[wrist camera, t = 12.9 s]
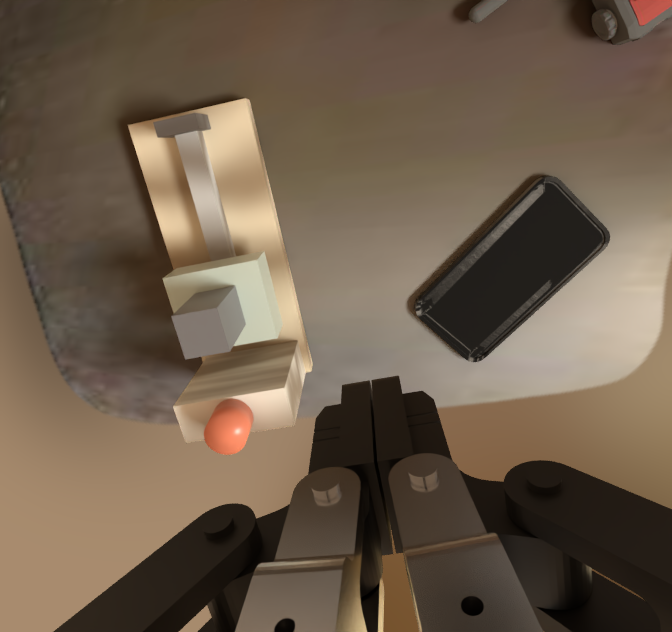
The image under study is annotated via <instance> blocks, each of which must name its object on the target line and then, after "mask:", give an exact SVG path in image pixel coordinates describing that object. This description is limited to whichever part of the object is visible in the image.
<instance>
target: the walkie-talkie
mask: <svg viewBox="0 0 672 632" xmlns="http://www.w3.org/2000/svg"><path fill="white" fill-rule="evenodd" d="M506 1H508V0H482V1H480V2H479V3H478V4H477V5H475V6H474V7H473V8H471V10H470V12H469V19H470V20H471V22H473V23H478V22H480V21H481V20H483V19H484V18H485V17H487V16H488V15H489V14H490V13H492V12H493V11H494V10H496V9H497V8H498V7H500V6H501V5H502V4H504V3H505V2H506ZM592 2H593V4H594V6H595V8H596V10H597V11H596V12H594V13H593V15H592V26H593V29H594V31H595V33H596V34H597V35H598V36H599V37H600V38H601V39H602V40H609V39H611V41H612V43H613V45H621V44H624V43H627V42H629V41H635V40H638V39H640V38H641V37H643V36H644V35H646V34H647V33H649V32H650V31H652V29H653V27H655V26H656V25H658V24H659V23H661V22H662V21H663V20H666V19H668V18H670V17H672V0H592Z"/></svg>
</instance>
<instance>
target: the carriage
mask: <svg viewBox="0 0 672 632" xmlns="http://www.w3.org/2000/svg"><path fill="white" fill-rule="evenodd" d="M162 279H163V282H164V285H165V288H166V291H167V294H168V298H169V301H170V304H171V307H172V310H173V313H174V314H173V315H172V316H171V317H172V320H173V324H174V327H175V330H176V333H177V336H178V339H179V342H180V345H181V348H182V351H183V354H184V357H185V360H186V359H191V358H197V357H203V356H208V355H214V354H219V353H225V352H230V351H231V349H232V347H233V346H238V345H243V344H249V343H254V342H260V341H266V340H271V339H277V338H278V336H279V333H280V330H281V328H282V325H283V323H282V319H281V315H280V311H279V307H278V303H277V299H276V295H275V291H274V287H273V283H272V279H271V275H270V271H269V267H268V263H267V259H266V256H265V252H264V251H262V252H256V253H251V254H246V255H241V256H236V257H231V258H226V259H221V260H216V261H211V262H206V263H201V264H196V265H190V266H185V267H180V268H176V269H175V270H173V271H172V272H171V273H169V274H168V275H166V276H165V277H164V278H162Z"/></svg>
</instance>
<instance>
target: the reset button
mask: <svg viewBox="0 0 672 632" xmlns="http://www.w3.org/2000/svg"><path fill="white" fill-rule="evenodd" d="M253 420H254V417H253V413H252V410H251V409H250V407H249V406H248V405H247V404H245V403H244V402H242V401H240V400H236V399H228V400H224V401H222V402H220V403H219V404H218V405H217V406H216V408H215V410H214V412H213V414H212V415H211V417H210V419H209V421H208V423H207V425H206V427H205V429H204V439H205V441H206V443H207V445H208V446H209V447H210V448H211V449H212V450H214V451H215V452H217V453H220V454H225V455H226V454H227V455H229V454H234V453H237V452H239V451H240V450H241V449H242V448H243V447H244V445H245V443H246V440H247V438H248V435H249V432H250V430H251V427H252V424H253Z"/></svg>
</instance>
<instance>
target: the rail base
mask: <svg viewBox="0 0 672 632" xmlns="http://www.w3.org/2000/svg"><path fill="white" fill-rule="evenodd" d="M128 128H129V131H130V134H131V137H132V140H133V143H134V147H135V150H136V153H137V156H138V159H139V162H140V165H141V169H142V172H143V175H144V178H145V181H146V184H147V188H148V191H149V194H150V197H151V200H152V203H153V207H154V210H155V213H156V216H157V219H158V222H159V225H160V229H161V232H162V235H163V238H164V241H165V244H166V248H167V251H168V254H169V257H170V260H171V263H172V267H173V270H175V269H176V268H180V267H185V266H190V265H196V264H201V263H206V262H211V261H216V260H221V259H226V258H231V257H236V256H241V255H246V254H251V253H256V252H262V251H264V252H265V256H266V259H267V263H268V267H269V271H270V275H271V279H272V283H273V287H274V291H275V295H276V299H277V303H278V307H279V311H280V315H281V319H282V323H283V325H282V328H281V330H280V333H279V336H278V338H277V339H271V340H266V341H260V342H254V343H249V344H243V345H238V346H233V347H232V349H231V351H230V352H225V353H219V354H214V355H208V356H203V357H201V358H202V361H203V363H202V365H201V366H200V368H199V369H198V371H197V372H196V374H195V375H194V377H193V378H192V379H191V381H190V382H189V384H188V385H187V387H186V388H185V390H184V391H183V393H182V394H181V396H180V397H179V399H178V400H177V402H176V403H175V405H174V406H173V408H174V411H175V413H176V416H177V419H178V422H179V425H180V428H181V430H182V433H183V436H184V439H185V442H186V443H189V442H196V441H202V440H205V439H204V429H205V427H206V425H207V423H208V421H209V419H210V417H211V415H212V414H213V412H214V410H215V408H216V406H217V405H218V404H219V403H220V402H222V401H224V400H228V399H236V400H240V401H242V402H244V403H245V404H247V405H248V406H249V407H250V409H251V410H252V413H253V417H254V420H253V424H252V427H251V430H250V432H249V433H252V432H258V431H264V430H270V429H276V428H283V427H289V426H294V425H295V421H296V416H297V411H298V407H299V402H300V397H301V392H302V388H303V383H304V378H305V373H306V372H311V371H312V365H313V363H312V359H311V355H310V351H309V346H308V342H307V338H306V334H305V330H304V326H303V321H302V317H301V313H300V309H299V305H298V300H297V296H296V292H295V288H294V284H293V280H292V275H291V271H290V267H289V263H288V259H287V255H286V250H285V246H284V242H283V238H282V234H281V229H280V225H279V221H278V217H277V213H276V209H275V204H274V200H273V196H272V192H271V188H270V184H269V179H268V175H267V171H266V167H265V163H264V158H263V154H262V150H261V146H260V142H259V138H258V133H257V129H256V125H255V121H254V117H253V113H252V108H251V104H250V100H248V99H246V98H245V99H240V100H236V101H232V102H227V103H223V104H219V105H214V106H210V107H205V108H201V109H197V110H192V111H188V112H184V113H179V114H175V115H170V116H166V117H162V118H157V119H153V120H149V121H144V122H140V123H135V124H131V125H128Z"/></svg>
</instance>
